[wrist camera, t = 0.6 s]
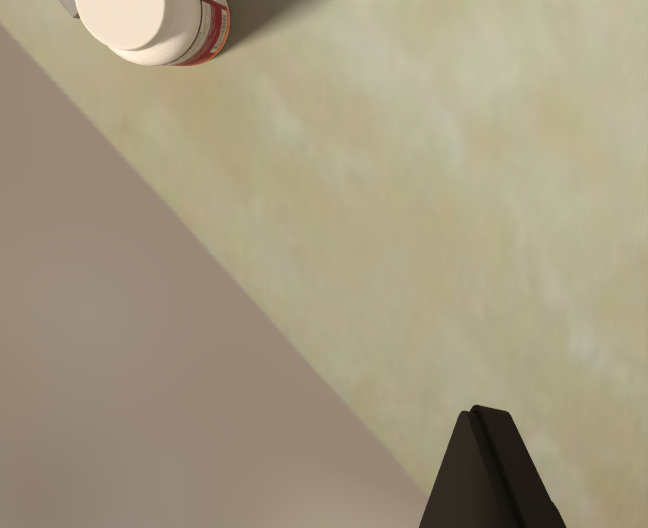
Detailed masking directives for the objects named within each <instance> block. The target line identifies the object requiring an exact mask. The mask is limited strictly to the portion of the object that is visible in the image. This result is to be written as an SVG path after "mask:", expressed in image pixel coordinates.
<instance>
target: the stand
mask: <svg viewBox="0 0 648 528" xmlns="http://www.w3.org/2000/svg"><path fill="white" fill-rule="evenodd" d="M58 1H59V2H60V3H61V4H62V5H63V7H64V8H65V9H66V10H67V11H68V12H69V13H70V15H71V16H72V17H73V18H78V19H79V18H80V16H79V13H78V10H77V7H76V2H75V0H58Z"/></svg>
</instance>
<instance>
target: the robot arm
mask: <svg viewBox="0 0 648 528" xmlns="http://www.w3.org/2000/svg"><path fill="white" fill-rule="evenodd" d="M419 528H566V526H565V524H564V522H563V519H562V517H561V515H560V513H559V511H558V509H557V508H556V506H555V505H554V503H553V502H552V501H551V499H550V497H549V495H548V493H547V491H546V489H545V487H544V484H543V482H542V480H541V478H540V476H539V474H538V472H537V470H536V468H535V465H534V463H533V461H532V459H531V457H530V455H529V453H528V451H527V449H526V446H525V444H524V442H523V440H522V438H521V436H520V434H519V432H518V430H517V428H516V425H515V423H514V421H513V419H512V417H511V415H510V414H509V412H507V411H503V410H499V409H494V408H489V407H484V406H480V405H475V406H473V407H472V408H471V410H470V412H468V411H462V412H461V413H460V414H459V417H458V419H457V422H456V425H455V427H454V430H453V433H452V436H451V439H450V441H449V444H448V447H447V450H446V453H445V455H444V458H443V461H442V464H441V467H440V469H439V472H438V475H437V478H436V481H435V483H434V486H433V489H432V492H431V495H430V497H429V500H428V503H427V506H426V509H425V511H424V514H423V517H422V520H421V523H420V526H419Z"/></svg>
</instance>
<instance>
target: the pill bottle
mask: <svg viewBox="0 0 648 528" xmlns="http://www.w3.org/2000/svg"><path fill="white" fill-rule="evenodd" d="M75 2H76V7H77V10H78V13H79V16H80V18H81V20H82V21H83V23H84V25H85V26H86V28H87V29H88V30H89V31H90V33H91V34H92V35H93V36H94V37H95V38H97V39H98V40H99V41H101V42H102V43H104V44H106V45H107V46H108V47H109V48H110V49H111V50H113V51H114V52H115V53H116V54H118V55H119V56H121V57H122V58H124V59H126V60H128V61H131V62H133V63H137V64H141V65H150V66H192V65H198V64H201V63H204V62H206V61H208V60H210V59H212V58H213V57H214V56H215V55H216V54H217V53H218V52H219V51H220V50H221V48H222V47H223V45H224V44H225V42H226V39H227V37H228V33H229V28H230V13H229V7H228V4H227V1H226V0H75Z"/></svg>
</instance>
